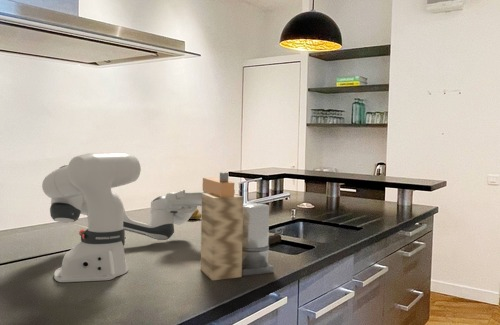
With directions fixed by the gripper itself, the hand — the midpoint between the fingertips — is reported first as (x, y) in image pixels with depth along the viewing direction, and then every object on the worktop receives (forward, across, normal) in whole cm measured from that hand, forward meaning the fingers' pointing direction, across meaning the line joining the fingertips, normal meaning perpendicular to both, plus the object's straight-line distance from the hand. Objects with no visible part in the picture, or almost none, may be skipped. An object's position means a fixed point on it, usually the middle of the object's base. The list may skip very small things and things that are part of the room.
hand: (195, 191), depth 172 cm
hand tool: (-9, -31, -22) cm, 39 cm away
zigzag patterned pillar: (+16, 0, -36) cm, 39 cm away
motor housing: (+15, -11, -36) cm, 41 cm away
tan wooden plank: (+25, 0, -11) cm, 27 cm away
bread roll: (-69, -17, +12) cm, 72 cm away
